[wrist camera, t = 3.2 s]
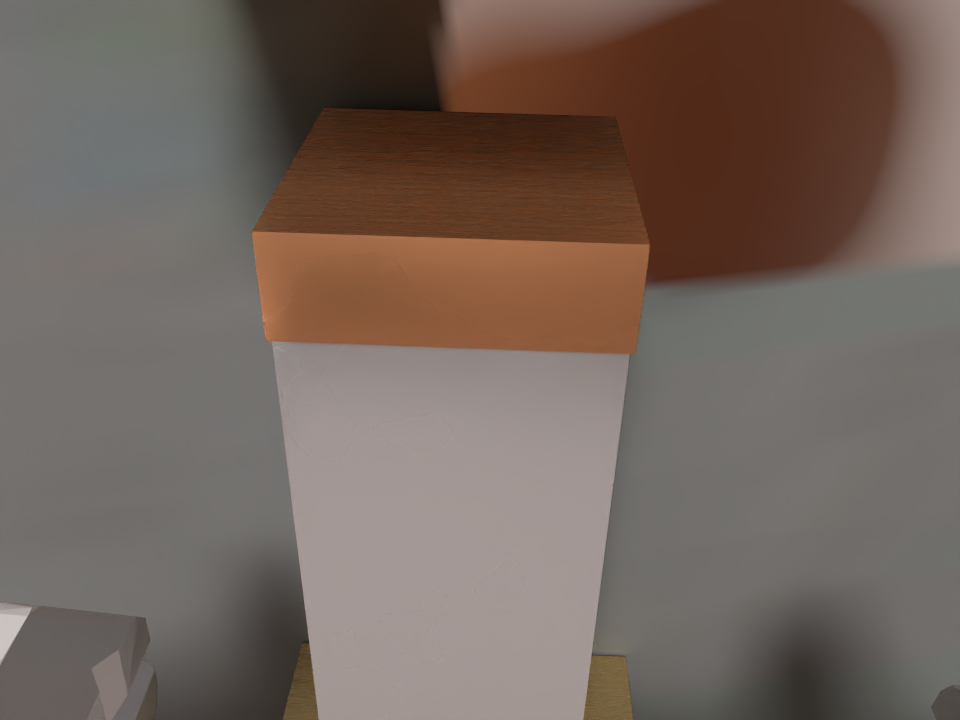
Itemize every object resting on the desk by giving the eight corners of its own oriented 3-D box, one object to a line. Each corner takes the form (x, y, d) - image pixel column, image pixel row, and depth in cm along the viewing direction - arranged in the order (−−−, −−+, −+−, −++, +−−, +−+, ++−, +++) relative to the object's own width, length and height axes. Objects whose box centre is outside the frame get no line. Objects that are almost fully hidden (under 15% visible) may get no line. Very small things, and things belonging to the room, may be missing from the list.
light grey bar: (615, 116, 12) (650, 244, 8) (536, 898, 22) (539, 1085, 19) (324, 108, 12) (251, 231, 9) (382, 891, 22) (359, 1076, 19)
